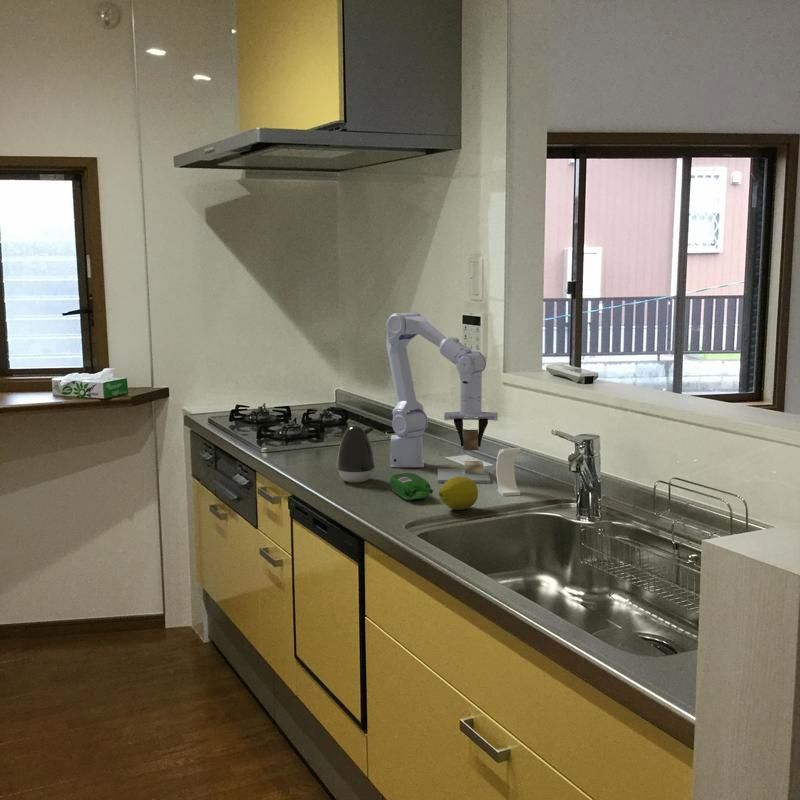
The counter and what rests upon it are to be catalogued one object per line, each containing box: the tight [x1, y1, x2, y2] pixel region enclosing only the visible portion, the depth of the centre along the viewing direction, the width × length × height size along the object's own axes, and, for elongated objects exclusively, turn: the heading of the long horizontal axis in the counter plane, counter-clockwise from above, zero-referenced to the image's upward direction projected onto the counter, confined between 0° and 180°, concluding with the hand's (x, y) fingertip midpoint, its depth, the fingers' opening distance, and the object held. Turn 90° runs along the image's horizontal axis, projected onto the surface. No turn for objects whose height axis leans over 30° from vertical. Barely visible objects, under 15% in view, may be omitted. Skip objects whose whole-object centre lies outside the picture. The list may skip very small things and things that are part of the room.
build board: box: [437, 468, 491, 484], centre depth 260 cm, size 14×14×1 cm
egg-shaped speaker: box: [336, 424, 375, 484], centre depth 255 cm, size 10×10×15 cm
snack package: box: [389, 472, 434, 501], centre depth 239 cm, size 7×16×5 cm, turn 19°
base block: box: [464, 460, 484, 474], centre depth 263 cm, size 5×5×2 cm
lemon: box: [438, 477, 479, 511], centre depth 226 cm, size 11×8×8 cm
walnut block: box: [462, 429, 479, 451], centre depth 260 cm, size 4×4×5 cm
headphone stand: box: [495, 447, 522, 497], centre depth 242 cm, size 5×6×12 cm
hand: (470, 445), depth 261 cm, fingers closed on walnut block, 4 cm apart
